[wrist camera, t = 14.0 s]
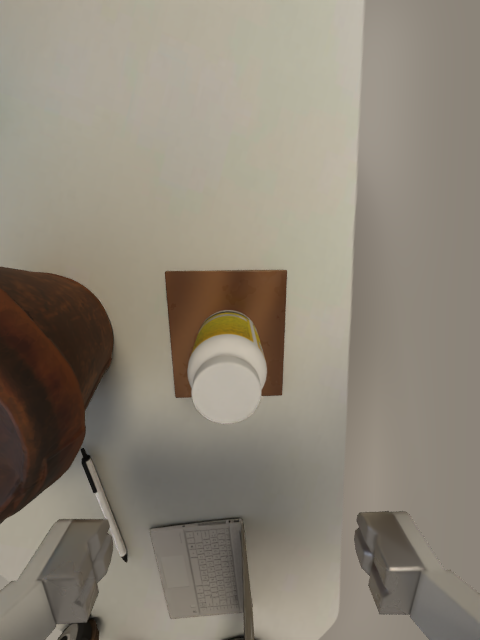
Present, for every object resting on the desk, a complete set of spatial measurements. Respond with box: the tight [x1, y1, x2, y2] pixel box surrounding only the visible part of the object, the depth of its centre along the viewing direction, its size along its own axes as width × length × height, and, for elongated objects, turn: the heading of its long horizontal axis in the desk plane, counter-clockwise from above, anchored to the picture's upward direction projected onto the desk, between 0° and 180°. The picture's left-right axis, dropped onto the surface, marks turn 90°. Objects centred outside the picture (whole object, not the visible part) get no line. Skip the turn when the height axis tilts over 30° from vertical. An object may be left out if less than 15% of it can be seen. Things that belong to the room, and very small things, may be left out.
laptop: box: [149, 519, 254, 640], centre depth 32 cm, size 18×12×13 cm
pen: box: [81, 448, 127, 562], centre depth 34 cm, size 1×19×1 cm, turn 9°
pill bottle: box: [187, 310, 267, 424], centre depth 23 cm, size 6×6×11 cm
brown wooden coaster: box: [165, 270, 287, 398], centre depth 29 cm, size 12×14×1 cm
